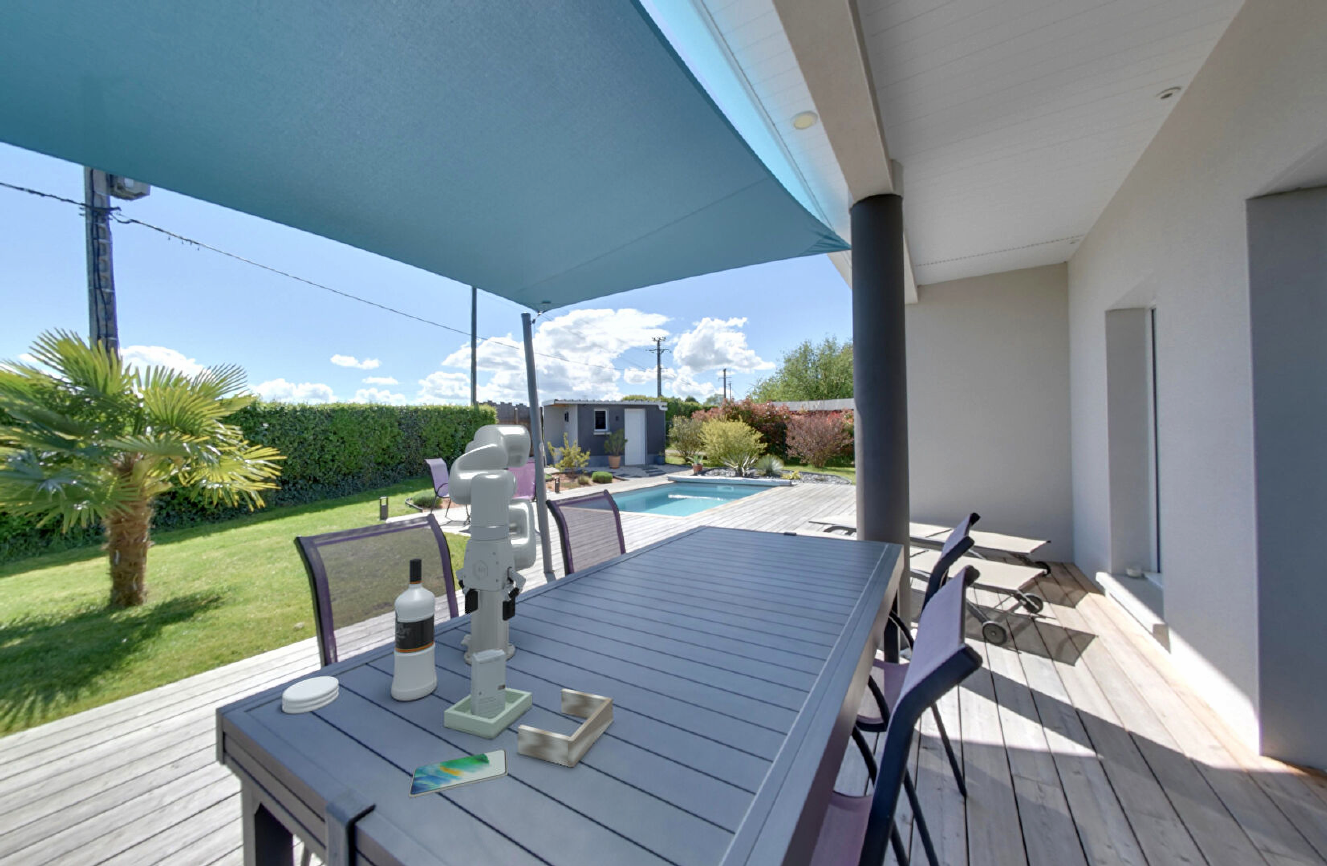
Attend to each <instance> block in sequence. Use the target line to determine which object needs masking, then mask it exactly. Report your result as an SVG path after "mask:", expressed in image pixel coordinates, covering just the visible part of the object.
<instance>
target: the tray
mask: <svg viewBox="0 0 1327 866" xmlns="http://www.w3.org/2000/svg"><path fill="white" fill-rule="evenodd" d="M532 698H533V693H532V692H529V691H525V690H520V689H514V688H510V687H506V686H505V710H504V711H503V712H502V713H500V714H499V715H498V716H495V717H492V718H488V719H487V718H483V717H479V716H475V715H472V714H471V693H470V694H468V695H467V696H465V697H464V698H463V699H461V700H459V701H458V702H456V703H454V704H453V705H451V706H449V708H447V709H446V710H444V711H443V713H444V714H443V715H444V717H443V718H444V719H443V720H444V721H443V722H444V723H443V726H444V728H447V729H451V730H454V731H460V732H462V733H465V734H470V735H474V736H477V737H481V738H484V739H488V740H492V741H493V740H495V738H497V737H498V736H499V735H500V734H502V733H503V732H504V731H505V730H506V729H508V728H509V727H510V726H512V724H514V723H515V722H516V721H517V720H519V718H521V717H522V716H523V715H525V714H526V713H527V712H528V711H529V710H530V709H532V708H533V699H532ZM531 707H532V708H531ZM529 708H530V709H529ZM528 709H529V710H528ZM527 710H528V711H527ZM526 711H527V712H526ZM525 712H526V713H525ZM521 715H522V716H521Z"/></svg>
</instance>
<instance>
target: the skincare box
mask: <svg viewBox="0 0 1327 866" xmlns="http://www.w3.org/2000/svg"><path fill="white" fill-rule="evenodd" d="M506 669H507V660H506V654H505V653H504V651H503V650H502V649H501V648H497V649H492V650H486V651H482V652H479V653H474V654H472V665H471V670H470V671H471V674H470V675H471V676H470V677H471V678H470V682H471V683H470V694H471V714H472V715H475V716H479V717H483V718H487V719H488V718H492V717H495V716H498V715H499V714H500V713H502V712H503V711H504V710H505V687H506V681H507V680H506V676H507V675H506V674H507V673H506V672H507V671H506Z"/></svg>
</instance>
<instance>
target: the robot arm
mask: <svg viewBox="0 0 1327 866" xmlns="http://www.w3.org/2000/svg"><path fill="white" fill-rule="evenodd" d="M531 441H532V440H531V435H530V432H529V430H528V429H527V428H526V426H524V425H521V424H488V425H487V424H486V425H483V426H480V428H478V429H477V430H476V431H475V434H474V435H473V440H472V441H470V442H468V443H467V444H466V447H465V449H464V450H465V451H464V454H462V455H460V456H458V457H457V458H456V459H455V460H454V461H453V463H452V465H451V468H450V470H449V471H450V472H449V477H448V484H447V491H448V492H447V493H448V496H449V499H450V501H451V502H452V503H454V504H456V505H460V506H463V505H470V525H469V526H468V528H467V529H468V532H470V538H468V539H467V541H466V545H465V549H464V556H463V557H464V558H463V565H462V567H461V568H460V569H458V570H456V571H455V575H456V578H457V581H458V586H459V587H460V588H461V593H462V595H464V614H465V615H470V634H465V636H463V639H462V640H461V642H460V644H461V645H462V646H465V647H467V651H465V653H464V657H463V658H464V662H466V663H467V664H468V665H471V666H472V654H474V653H479V652H482V651H486V650H492V649H497V648H501V649H502V650H503V651H504V653H505V654H506V661H507V660H509V659H511V658H512V657H513V656H514V655H515V653H516V652H515V651H516V647H515V646H514V644H512V643H510V641H509V639H510V635H509V634H510V619H512V618H515V616H516V599H517V598H518V597H519V595H520V594H521V593H522V592H523V590H524V586H525V585H526V583H527V579H526V578H525V577H524V576H523V575H522V574H520V572H518V571H517V570H526V569H530V568H532V567H533V566H534V565H535V563H536V560H537V538H536V537H537V536H536V522H535V512H534V511H535V510H534V507H533V504H532V502H531V501H530V500H528V499H526V498H518V497H517V498H514V497H515V496H516V494H517V491H518V479H517V477H516V476H515V475H514V473H513V472H512V471H510V470H508V469H509V468H511V469H512V468H522V467H525V466H526V465H527V463H528V461H529V457H530V452H531V446H532V445H531V443H532V442H531ZM512 533H513V534H512ZM514 584H515V586H514Z"/></svg>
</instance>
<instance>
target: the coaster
mask: <svg viewBox="0 0 1327 866" xmlns="http://www.w3.org/2000/svg"><path fill="white" fill-rule="evenodd" d="M339 684H340V682H339V680H338V679H337V678H336V677H333V676H329V675H328V676H327V675H325V676H324V675H323V676H315V677H311V678H306V679H305V680H301V681H299V682H296V683H294V684H293V685H290V686H288V688H286V689H285V690H284V691H283V693H282V695H281V698H282V700H281V703H282V705H281V709H282V711H283V712H284V713H287V714H292V715H293V714H294V715H295V714H297V715H298V714H304V713H310V712H313V711H316V710H319V709H321V708H324V707H326V706H328V705H330V704H331V703H332V702H335V700H336V699H337V698H338V697H339V694H340V693H339V692H340V691H339Z"/></svg>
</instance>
